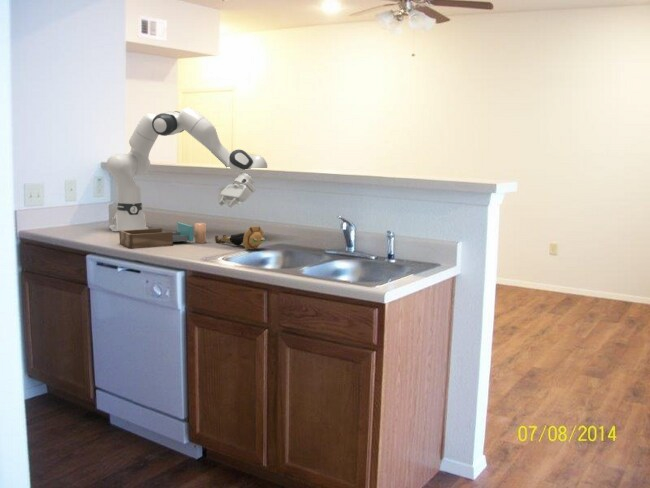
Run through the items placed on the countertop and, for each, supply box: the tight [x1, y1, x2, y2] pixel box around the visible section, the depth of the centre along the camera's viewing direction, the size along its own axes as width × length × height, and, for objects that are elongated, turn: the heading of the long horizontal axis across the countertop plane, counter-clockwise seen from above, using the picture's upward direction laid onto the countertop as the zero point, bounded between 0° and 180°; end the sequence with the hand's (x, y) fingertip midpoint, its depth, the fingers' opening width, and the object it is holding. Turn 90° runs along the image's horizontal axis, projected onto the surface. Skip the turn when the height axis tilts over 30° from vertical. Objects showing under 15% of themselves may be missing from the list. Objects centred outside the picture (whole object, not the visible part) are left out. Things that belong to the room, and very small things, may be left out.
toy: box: [214, 225, 266, 251], centre depth 280 cm, size 18×10×30 cm
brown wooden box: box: [118, 227, 174, 249], centre depth 278 cm, size 14×19×6 cm
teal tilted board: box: [172, 221, 194, 243], centre depth 283 cm, size 15×19×7 cm
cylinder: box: [194, 222, 207, 244], centre depth 287 cm, size 5×5×9 cm
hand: (224, 205), depth 293 cm, fingers open, 8 cm apart
